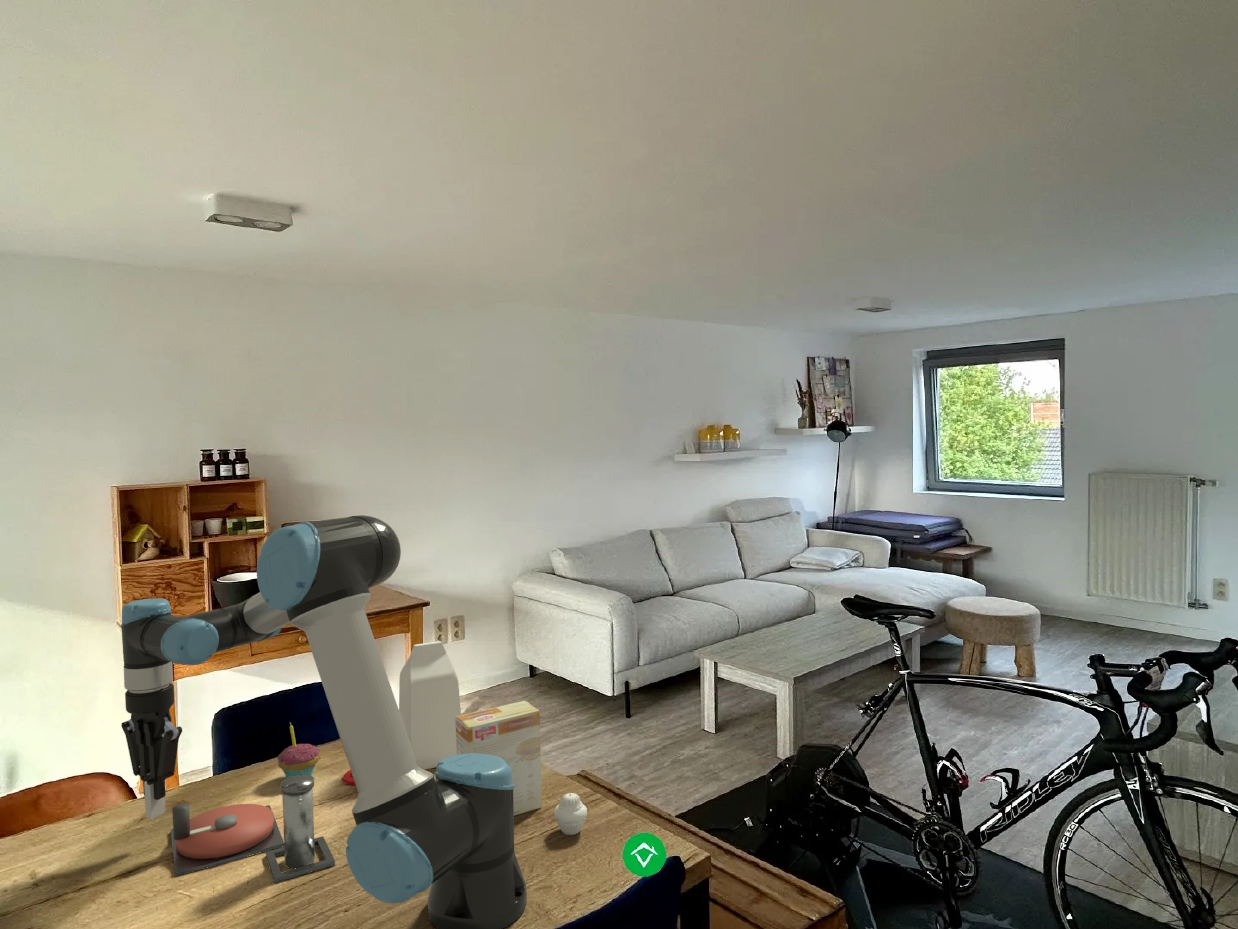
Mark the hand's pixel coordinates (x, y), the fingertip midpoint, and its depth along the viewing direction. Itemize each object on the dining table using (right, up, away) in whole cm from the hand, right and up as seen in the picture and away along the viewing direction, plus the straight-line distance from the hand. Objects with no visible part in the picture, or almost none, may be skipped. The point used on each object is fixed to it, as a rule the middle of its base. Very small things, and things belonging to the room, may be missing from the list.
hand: (155, 815), depth 143 cm
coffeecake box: (+61, -4, +10) cm, 62 cm away
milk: (+41, -3, +36) cm, 55 cm away
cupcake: (+16, -4, +26) cm, 31 cm away
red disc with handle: (+12, -5, +1) cm, 13 cm away
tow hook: (+30, -4, +26) cm, 40 cm away
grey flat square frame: (+29, -5, -6) cm, 30 cm away
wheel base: (+12, -5, +1) cm, 13 cm away
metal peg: (+29, -5, -6) cm, 30 cm away
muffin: (+75, -4, +3) cm, 75 cm away
